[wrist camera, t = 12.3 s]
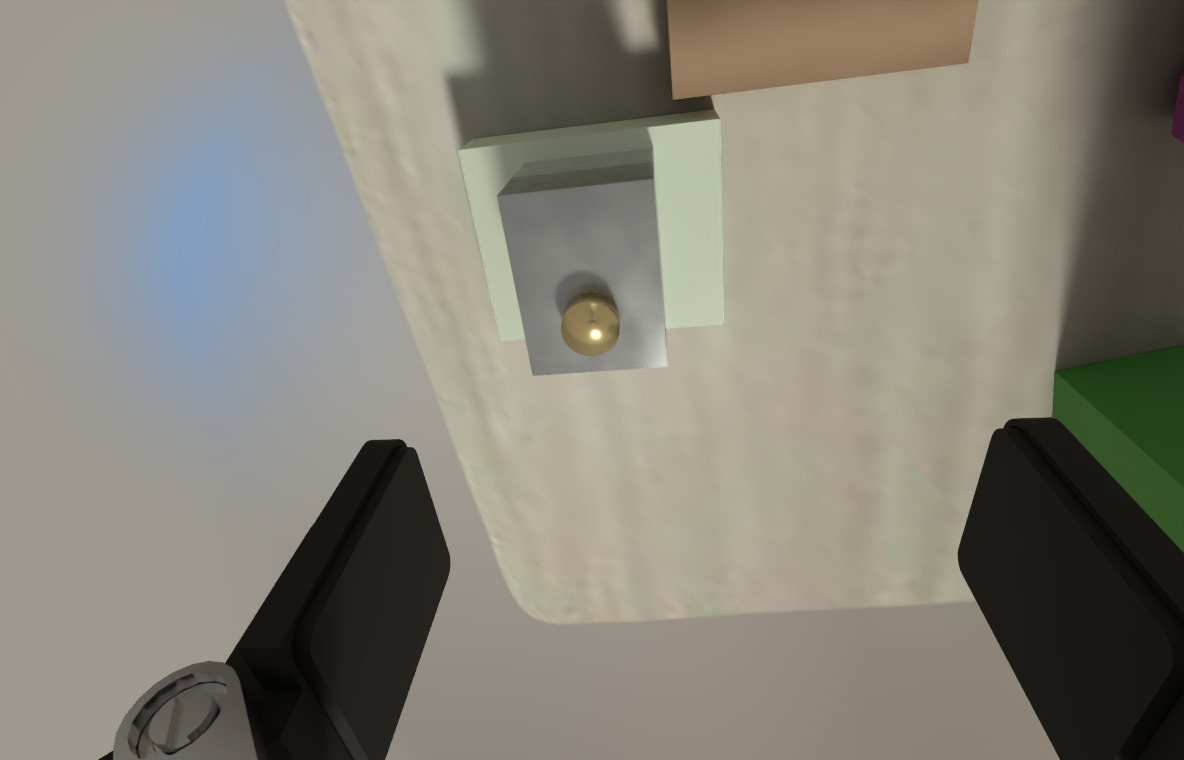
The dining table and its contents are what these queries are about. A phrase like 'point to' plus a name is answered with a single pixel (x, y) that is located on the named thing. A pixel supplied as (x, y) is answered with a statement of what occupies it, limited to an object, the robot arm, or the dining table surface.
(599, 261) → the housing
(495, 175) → the stand
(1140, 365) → the hardback book
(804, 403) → the dining table surface
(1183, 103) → the mounting bracket
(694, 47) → the stand
